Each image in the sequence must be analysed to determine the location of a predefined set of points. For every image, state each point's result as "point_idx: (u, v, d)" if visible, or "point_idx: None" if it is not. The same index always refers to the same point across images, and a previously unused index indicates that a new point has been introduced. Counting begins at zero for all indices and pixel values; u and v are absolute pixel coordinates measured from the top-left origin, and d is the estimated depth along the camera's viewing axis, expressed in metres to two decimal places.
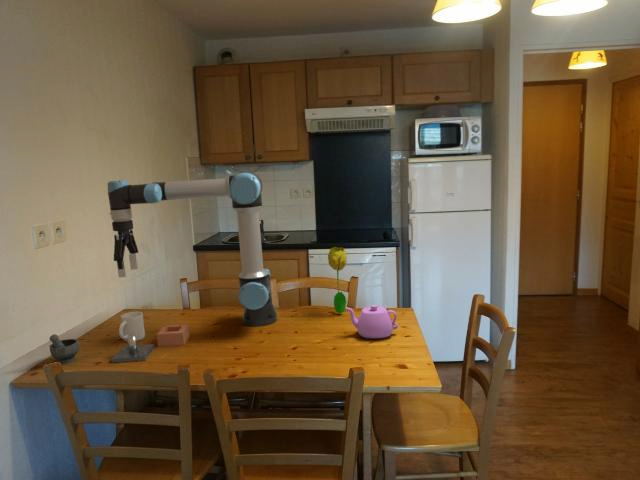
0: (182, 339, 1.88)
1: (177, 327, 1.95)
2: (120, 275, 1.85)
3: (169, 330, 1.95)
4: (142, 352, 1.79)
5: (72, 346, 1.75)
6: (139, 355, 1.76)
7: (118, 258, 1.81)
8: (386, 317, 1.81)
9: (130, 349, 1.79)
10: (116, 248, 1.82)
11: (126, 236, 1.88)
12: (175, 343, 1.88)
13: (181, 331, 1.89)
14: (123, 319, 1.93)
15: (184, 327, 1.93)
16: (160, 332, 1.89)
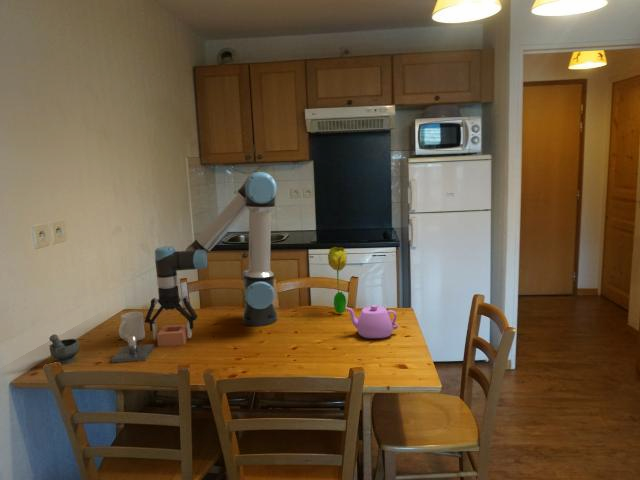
0: (182, 339, 1.88)
1: (177, 327, 1.95)
2: None
3: (169, 330, 1.95)
4: (142, 352, 1.79)
5: (72, 346, 1.75)
6: (139, 355, 1.76)
7: None
8: (386, 317, 1.81)
9: (130, 349, 1.79)
10: None
11: (163, 303, 1.88)
12: (175, 343, 1.88)
13: (181, 331, 1.89)
14: (123, 319, 1.93)
15: (184, 327, 1.93)
16: (160, 332, 1.89)
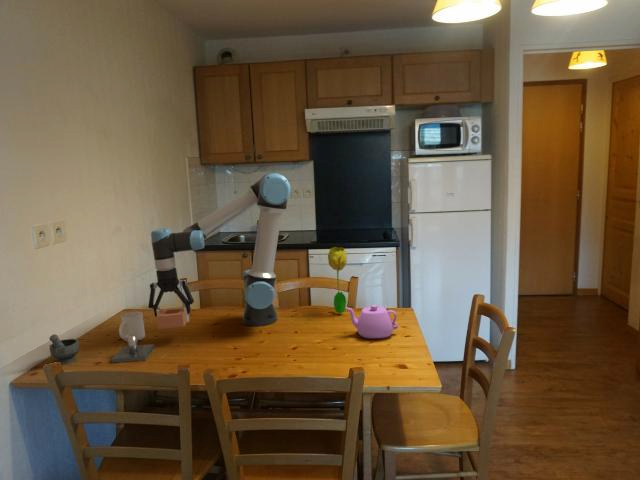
0: (182, 321, 1.87)
1: (177, 309, 1.94)
2: None
3: (169, 313, 1.94)
4: (142, 352, 1.79)
5: (72, 346, 1.75)
6: (139, 355, 1.76)
7: None
8: (386, 317, 1.81)
9: (130, 349, 1.79)
10: None
11: (162, 285, 1.87)
12: (175, 325, 1.87)
13: (180, 313, 1.88)
14: (123, 319, 1.93)
15: (183, 309, 1.92)
16: (159, 314, 1.88)
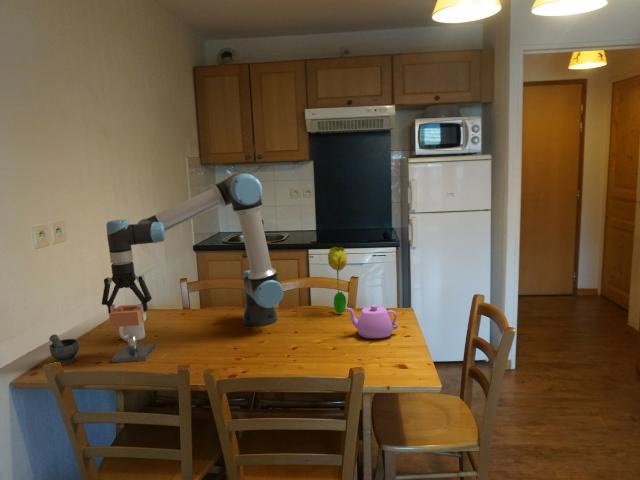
0: (137, 319, 1.73)
1: (133, 307, 1.80)
2: None
3: (124, 310, 1.80)
4: (142, 352, 1.79)
5: (72, 346, 1.75)
6: (139, 355, 1.76)
7: None
8: (386, 317, 1.81)
9: (130, 349, 1.79)
10: None
11: (117, 281, 1.74)
12: (129, 323, 1.73)
13: (136, 310, 1.74)
14: None
15: None
16: (113, 311, 1.75)
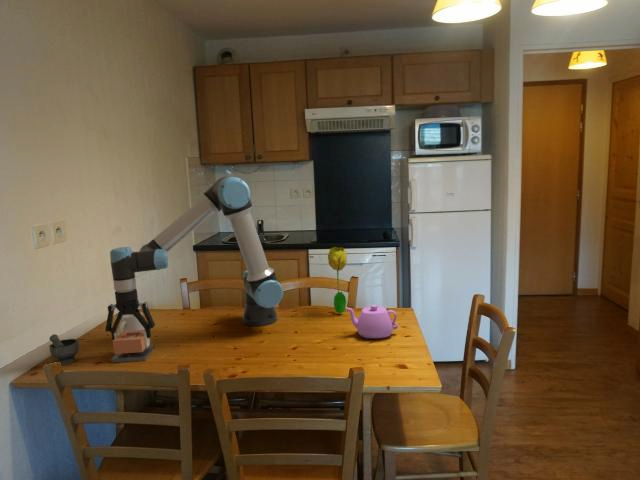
0: (140, 346, 1.75)
1: (136, 333, 1.82)
2: None
3: None
4: (142, 352, 1.79)
5: (72, 346, 1.75)
6: (139, 355, 1.76)
7: None
8: (386, 317, 1.81)
9: None
10: None
11: (120, 308, 1.76)
12: (133, 350, 1.75)
13: (139, 337, 1.76)
14: (123, 319, 1.93)
15: None
16: (117, 338, 1.76)
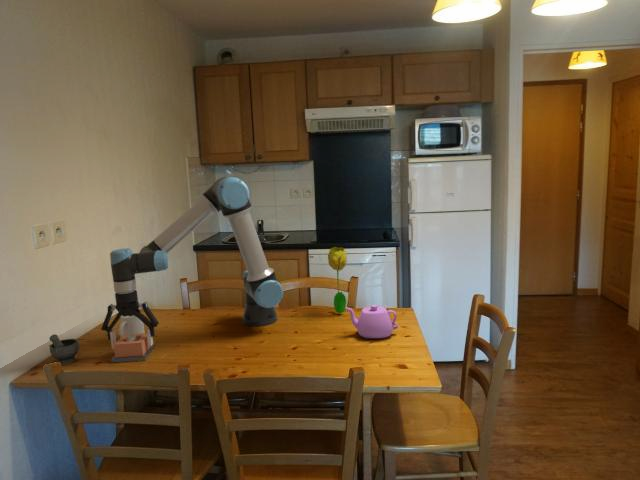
0: (141, 349, 1.75)
1: (137, 336, 1.82)
2: None
3: None
4: None
5: (72, 346, 1.75)
6: None
7: None
8: (386, 317, 1.81)
9: None
10: None
11: (121, 309, 1.76)
12: (133, 354, 1.75)
13: (140, 341, 1.76)
14: (123, 319, 1.93)
15: (144, 336, 1.81)
16: (118, 342, 1.76)
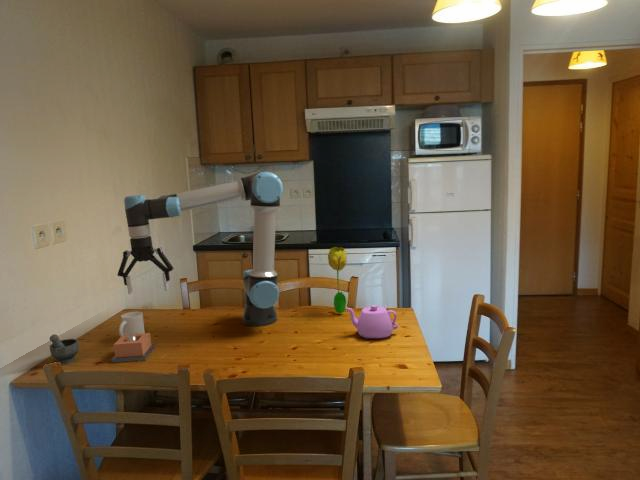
0: (141, 349, 1.75)
1: (137, 336, 1.82)
2: None
3: None
4: None
5: (72, 346, 1.75)
6: None
7: None
8: (386, 317, 1.81)
9: None
10: None
11: (136, 254, 1.80)
12: (133, 354, 1.75)
13: (140, 341, 1.76)
14: (123, 319, 1.93)
15: (144, 336, 1.81)
16: (118, 342, 1.76)
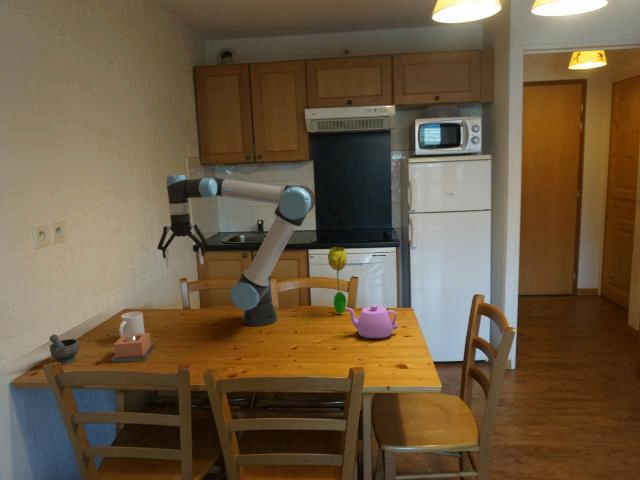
0: (141, 349, 1.75)
1: (137, 336, 1.82)
2: None
3: None
4: None
5: (72, 346, 1.75)
6: None
7: None
8: (386, 317, 1.81)
9: None
10: None
11: (175, 229, 1.94)
12: (133, 354, 1.75)
13: (140, 341, 1.76)
14: (123, 319, 1.93)
15: (144, 336, 1.81)
16: (118, 342, 1.76)
